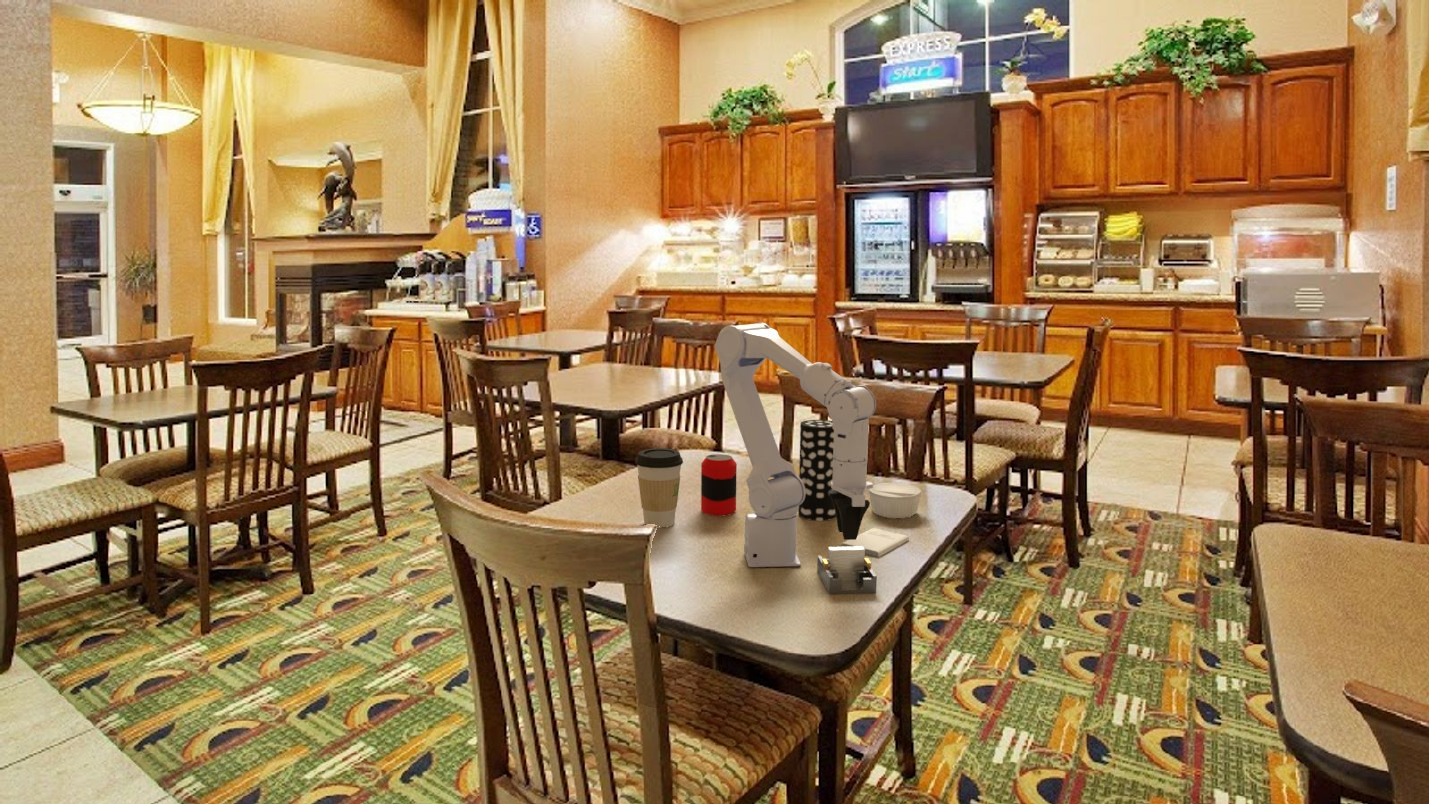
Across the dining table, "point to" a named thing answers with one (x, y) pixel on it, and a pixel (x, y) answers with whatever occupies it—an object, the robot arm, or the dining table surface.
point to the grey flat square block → (846, 561)
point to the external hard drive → (877, 541)
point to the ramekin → (894, 500)
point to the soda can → (718, 485)
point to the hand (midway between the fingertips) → (847, 535)
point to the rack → (839, 586)
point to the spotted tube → (816, 469)
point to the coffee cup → (659, 484)
